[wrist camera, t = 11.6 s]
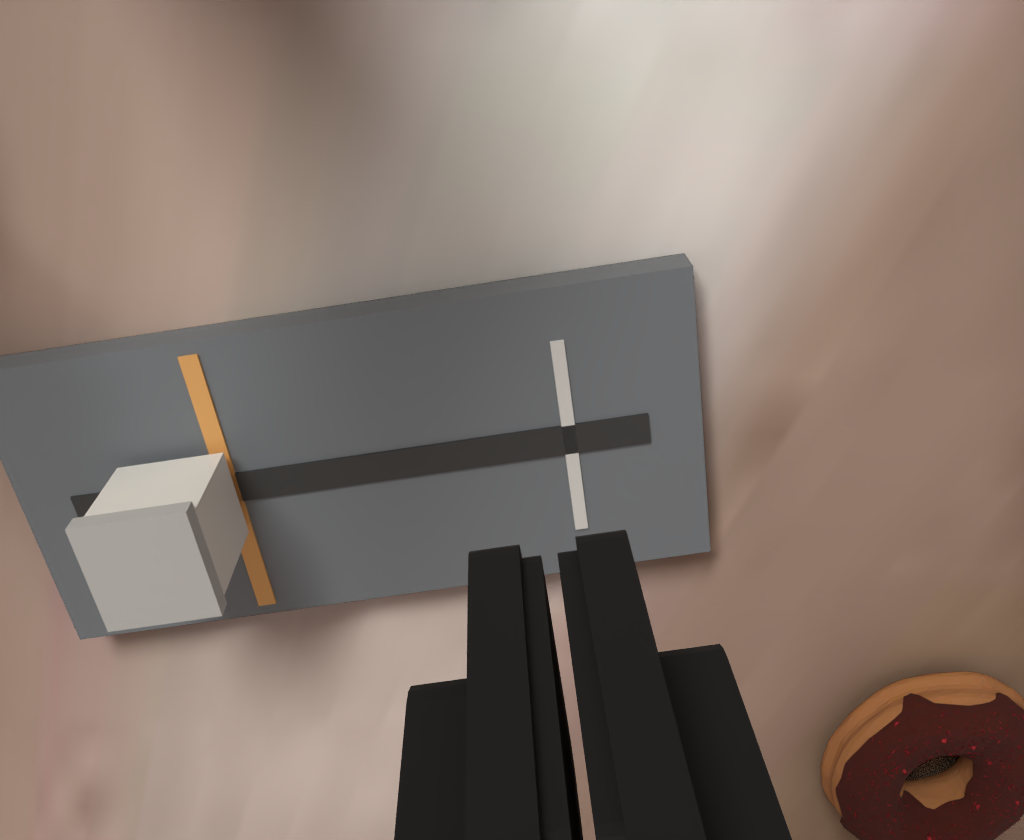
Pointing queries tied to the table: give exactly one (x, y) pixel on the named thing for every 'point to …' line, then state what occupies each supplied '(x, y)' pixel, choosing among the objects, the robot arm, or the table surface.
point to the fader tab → (161, 542)
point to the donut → (917, 738)
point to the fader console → (387, 432)
